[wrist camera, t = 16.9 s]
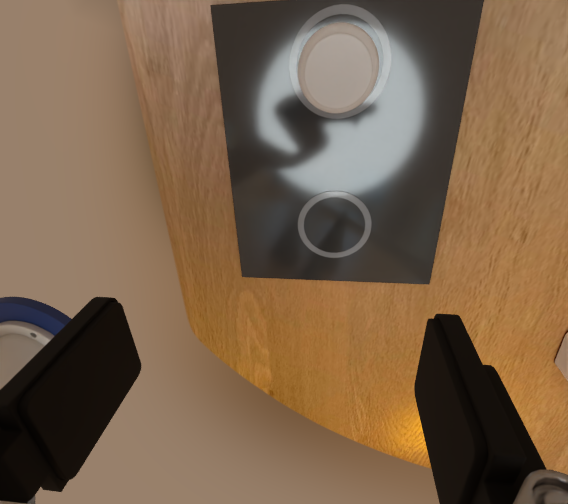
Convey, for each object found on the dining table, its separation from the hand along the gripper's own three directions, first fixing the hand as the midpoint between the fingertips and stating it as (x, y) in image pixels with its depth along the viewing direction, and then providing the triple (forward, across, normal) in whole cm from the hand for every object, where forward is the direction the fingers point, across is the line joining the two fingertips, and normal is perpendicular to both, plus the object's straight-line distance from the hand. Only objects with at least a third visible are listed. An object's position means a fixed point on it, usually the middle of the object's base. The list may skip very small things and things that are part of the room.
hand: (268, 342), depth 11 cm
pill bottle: (+24, -2, -7) cm, 25 cm away
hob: (+24, -2, +1) cm, 24 cm away
